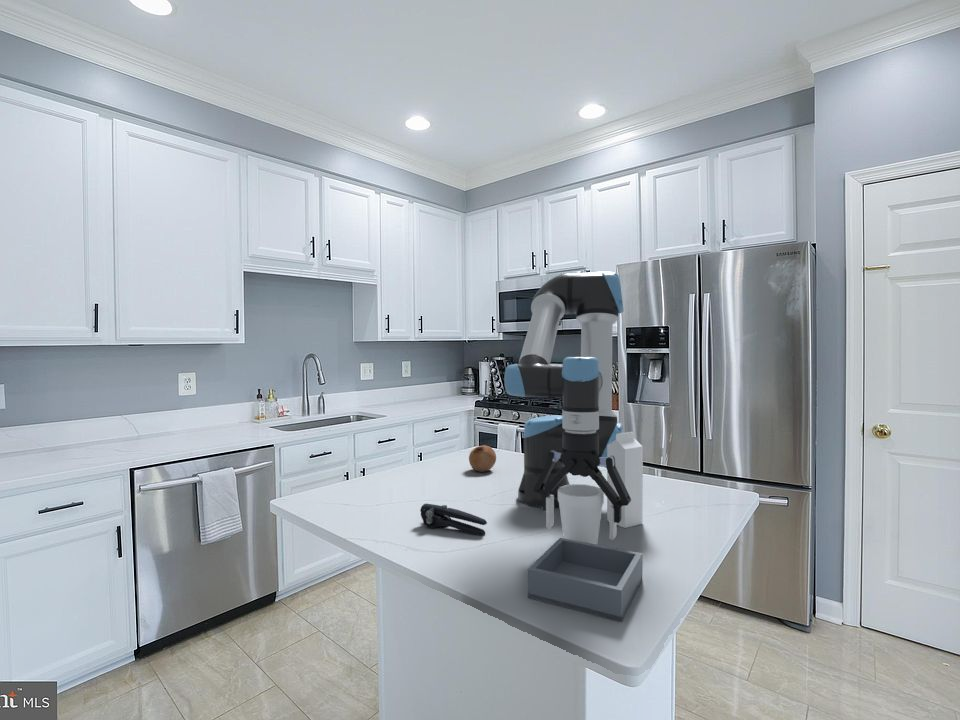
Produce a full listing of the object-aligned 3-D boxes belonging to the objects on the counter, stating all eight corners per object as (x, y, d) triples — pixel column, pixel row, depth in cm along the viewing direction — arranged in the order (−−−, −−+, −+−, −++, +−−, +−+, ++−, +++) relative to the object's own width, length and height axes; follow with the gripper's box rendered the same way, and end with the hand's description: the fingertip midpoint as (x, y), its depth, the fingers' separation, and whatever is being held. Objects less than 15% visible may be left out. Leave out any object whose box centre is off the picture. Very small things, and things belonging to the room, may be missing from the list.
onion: (480, 482, 171) (473, 458, 167) (467, 469, 179) (461, 446, 175) (503, 469, 175) (498, 446, 170) (490, 457, 183) (484, 434, 178)
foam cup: (553, 543, 111) (553, 484, 110) (595, 542, 112) (595, 483, 111) (564, 562, 101) (564, 498, 101) (609, 560, 102) (609, 496, 102)
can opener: (414, 528, 122) (413, 504, 121) (430, 519, 128) (430, 497, 128) (478, 541, 113) (478, 516, 113) (492, 531, 119) (492, 507, 119)
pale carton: (642, 524, 123) (643, 433, 122) (624, 528, 120) (625, 435, 119) (624, 516, 128) (625, 429, 127) (606, 520, 125) (607, 431, 124)
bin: (527, 597, 87) (527, 569, 87) (560, 562, 101) (559, 537, 101) (621, 621, 80) (621, 590, 80) (642, 580, 94) (642, 553, 93)
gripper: (518, 428, 109) (518, 527, 109) (637, 438, 96) (637, 549, 97) (532, 424, 115) (532, 517, 116) (645, 432, 103) (645, 536, 103)
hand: (580, 531), depth 106 cm, fingers open, 13 cm apart
